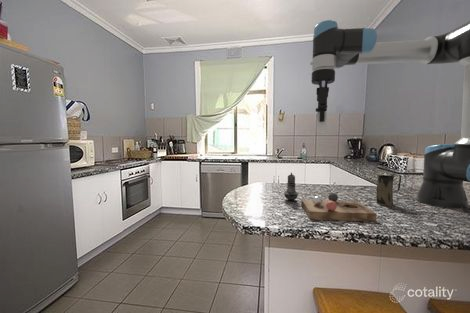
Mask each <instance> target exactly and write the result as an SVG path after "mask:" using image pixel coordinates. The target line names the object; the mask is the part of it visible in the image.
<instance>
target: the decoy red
mask: <svg viewBox="0 0 470 313" xmlns="http://www.w3.org/2000/svg"><path fill="white" fill-rule="evenodd" d="M326 207H327V209H328V210H330V211H334V210H336V208H337V204H336V203H335V202H334V201H328V202H327V203H326Z"/></svg>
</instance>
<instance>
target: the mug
mask: <svg viewBox="0 0 470 313" xmlns="http://www.w3.org/2000/svg"><path fill="white" fill-rule="evenodd" d="M396 175H397V176H398V177H399V178H398V186H397V189H396V190H394V188H393V187H394V179H395V176H396ZM376 183H377V184H376V193H375V194H376V196H375V197H376V205H379V206H383V207H393V206H394V198H393V196H394V194H393V193H398V192H400V188H401V183H402V175H401V174H398V173H392V174H391V175H387V174H385V175H383V174H379V175H378V177H377V182H376Z"/></svg>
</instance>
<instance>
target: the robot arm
mask: <svg viewBox="0 0 470 313" xmlns="http://www.w3.org/2000/svg"><path fill="white" fill-rule="evenodd" d="M377 38H378V34H377V31H376V29H375V28H371V27H368V28H367V27H359V28H356V27H355V28H339V26H338V23H337V21H335V20H331V19H328V20H323V21H320V22H319V23H317V24H316V25H315V26H314V28H313V38H312V61H311V62H310V66H311V71H312V73H311V83H312V85H318V87H316V101H317V108H315V112H316V132H315V133H316V134H317V135H318V134H319V135H320V134H325V133H326V132H327V117H328V116H327V113H328V112H327V111H328V97H329V91H330V87H328V85H331V84H332V83H334V82H335V80H336V69H340V68H343V67H345V66H353V65H355V66H356V65H375V64H376V65H377V64H397V63H414V62H415V63H416V62H417V63H420V64H421V65H440V64H454V63H458V64H459V65H461V66H463V87H462V88H463V89H462V90H463V91H462V106H461V107H462V111H461V129H460V130H461V133H460V139H458V140H456V142H454V143H444V144H443V143H441V144H433V145H432V144H431V145H429V146H426V148H425V150H424V154H423V158H424V160H423V174H422V175H423V176H422V183H421V185H420V186H419V189H418V192H416V201H417V202H420V203H423V204H426V205H429V206H436V207H441V208H447V209H465V208H468V207H469V199H468V197H467V195H466V194H467V193H466V191H465V188H464V182H466V183H470V20H469V21H467V22H465V23H464V24H462V25H460V26H458V27H456V28H455V29H452V30H450V31H447V32H446V33H444V34H440V35H434V36H428V37H426V38H425V39H417V40H415V39H413V40H399V41H398V40H397V41H383V42H382V41H381V42H380V41H379V42H377Z"/></svg>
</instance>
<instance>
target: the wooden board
mask: <svg viewBox="0 0 470 313" xmlns="http://www.w3.org/2000/svg"><path fill="white" fill-rule="evenodd" d="M312 200H313V199H301V200H300V201H301V203H300V204H301V205H300V206H301V208H302V210H303V211H304V213H305V214H306V216H307V217H308V219H309V220H320V221H321V220H326V221H327V220H329V221H350V222H351V221H354V222H377V214H378V213H376V212H375V211H373V210H372V209H370V208H369V207H367V206H365V205H364V204H362V203H361V202H359V201H357V200H337V201H335V203H336V204H337V208H336V210H334V211H330V210H328V209H327V207H326V203H327V202H328V201H330V200H329V199H328V200H326V199H324V200H323V199H322V204H321V205H319V206H317V205H314V204H313V202H312Z"/></svg>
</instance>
